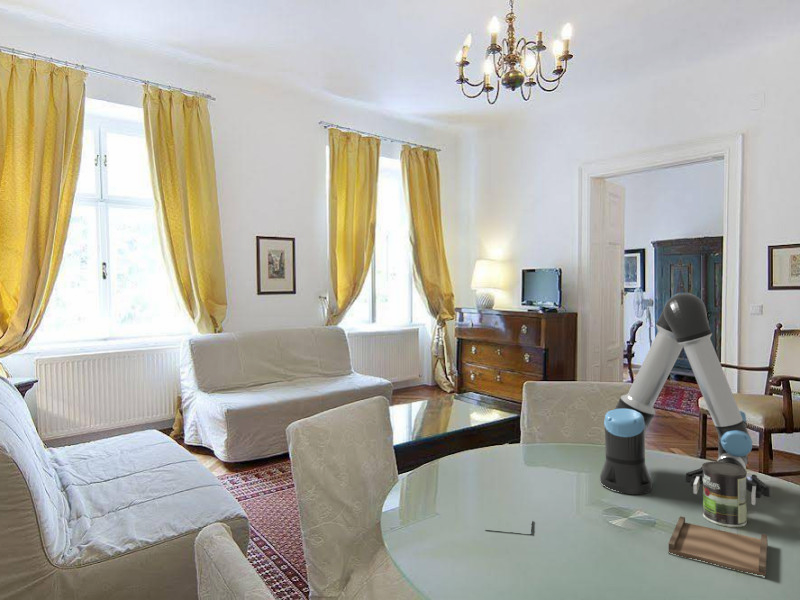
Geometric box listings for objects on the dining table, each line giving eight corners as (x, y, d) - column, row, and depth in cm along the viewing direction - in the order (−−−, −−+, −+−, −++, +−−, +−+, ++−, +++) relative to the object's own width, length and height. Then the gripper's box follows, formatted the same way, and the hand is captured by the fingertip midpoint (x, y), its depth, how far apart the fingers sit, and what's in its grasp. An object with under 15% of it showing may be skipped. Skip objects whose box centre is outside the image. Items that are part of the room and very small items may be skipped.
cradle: (765, 578, 113) (765, 566, 113) (668, 553, 124) (668, 543, 124) (767, 545, 126) (767, 534, 126) (680, 525, 138) (680, 516, 138)
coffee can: (720, 529, 135) (719, 476, 135) (694, 512, 146) (693, 462, 145) (757, 526, 136) (756, 473, 136) (729, 509, 146) (728, 460, 146)
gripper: (781, 490, 148) (780, 519, 131) (683, 473, 163) (672, 497, 145) (780, 464, 148) (780, 490, 130) (683, 450, 162) (671, 471, 145)
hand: (723, 494), depth 138 cm, fingers open, 12 cm apart
